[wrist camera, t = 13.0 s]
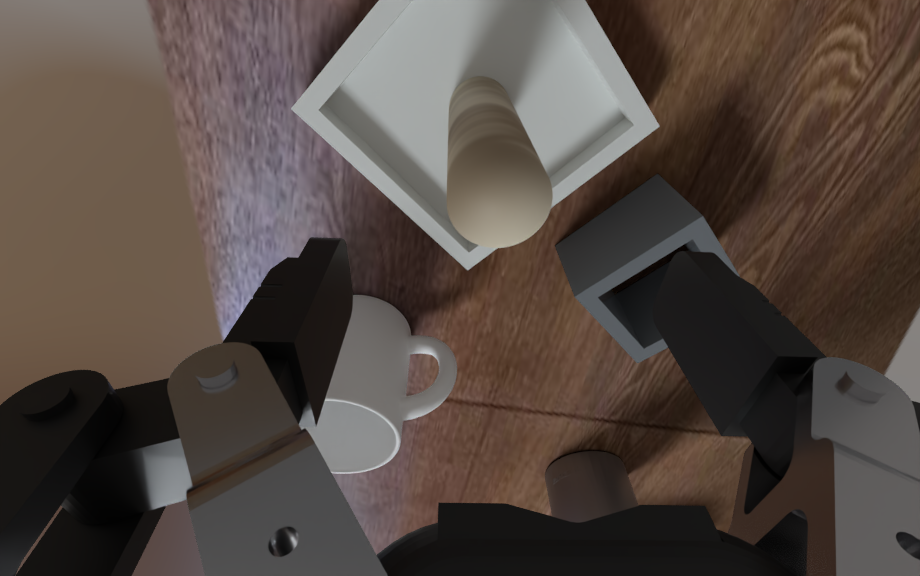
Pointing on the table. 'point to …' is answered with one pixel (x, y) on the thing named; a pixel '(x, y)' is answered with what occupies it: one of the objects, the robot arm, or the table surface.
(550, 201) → the birch pin
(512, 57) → the white tray
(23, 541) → the robot arm
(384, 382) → the mug
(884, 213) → the table surface
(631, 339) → the grey hollow box
